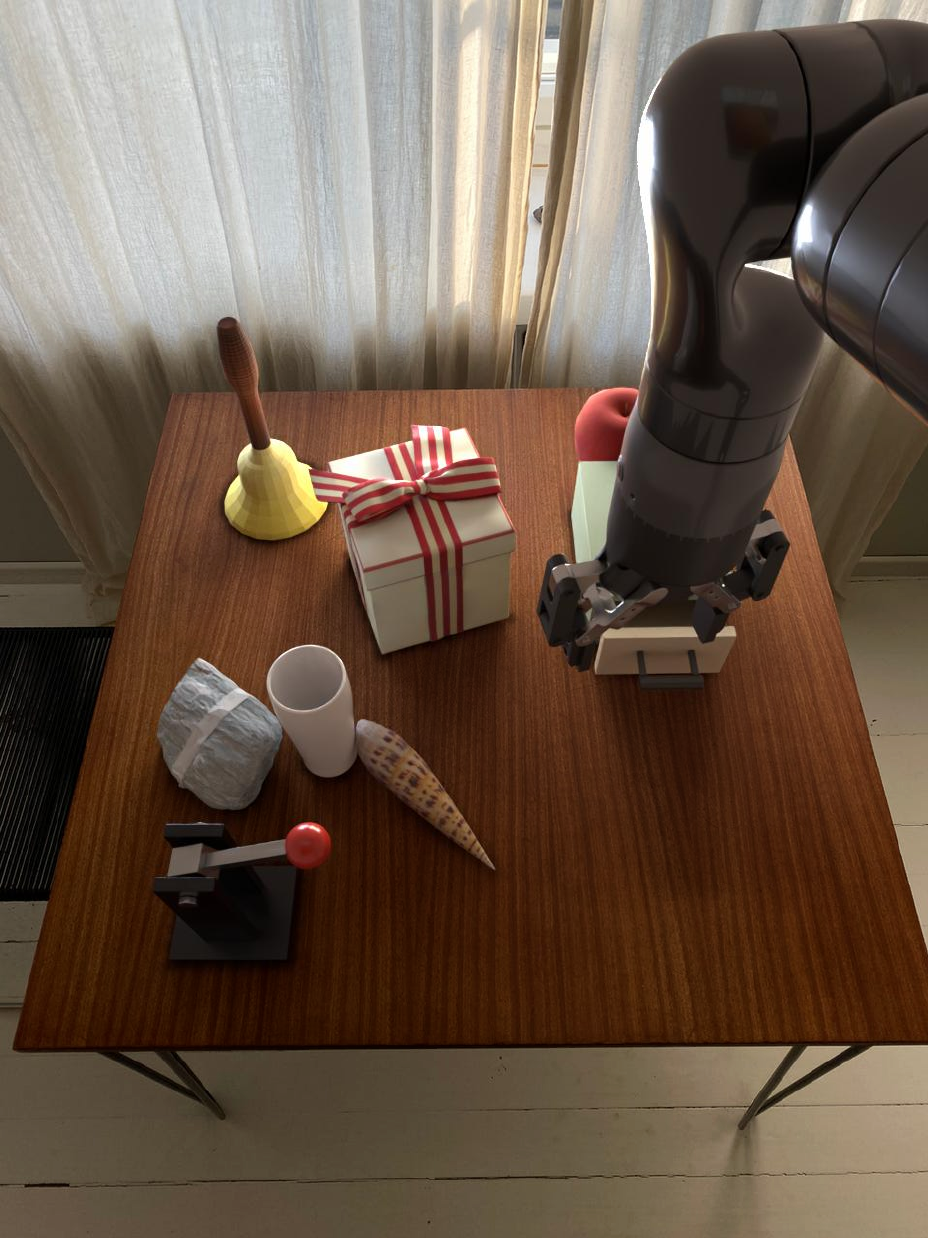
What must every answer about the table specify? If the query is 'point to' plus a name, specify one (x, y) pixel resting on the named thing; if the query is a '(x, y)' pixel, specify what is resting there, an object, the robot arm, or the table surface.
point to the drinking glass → (315, 707)
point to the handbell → (262, 456)
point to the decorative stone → (217, 738)
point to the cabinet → (593, 512)
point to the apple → (604, 424)
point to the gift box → (424, 535)
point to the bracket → (228, 906)
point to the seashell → (413, 783)
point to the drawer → (663, 649)
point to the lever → (253, 854)
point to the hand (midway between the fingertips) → (640, 645)
